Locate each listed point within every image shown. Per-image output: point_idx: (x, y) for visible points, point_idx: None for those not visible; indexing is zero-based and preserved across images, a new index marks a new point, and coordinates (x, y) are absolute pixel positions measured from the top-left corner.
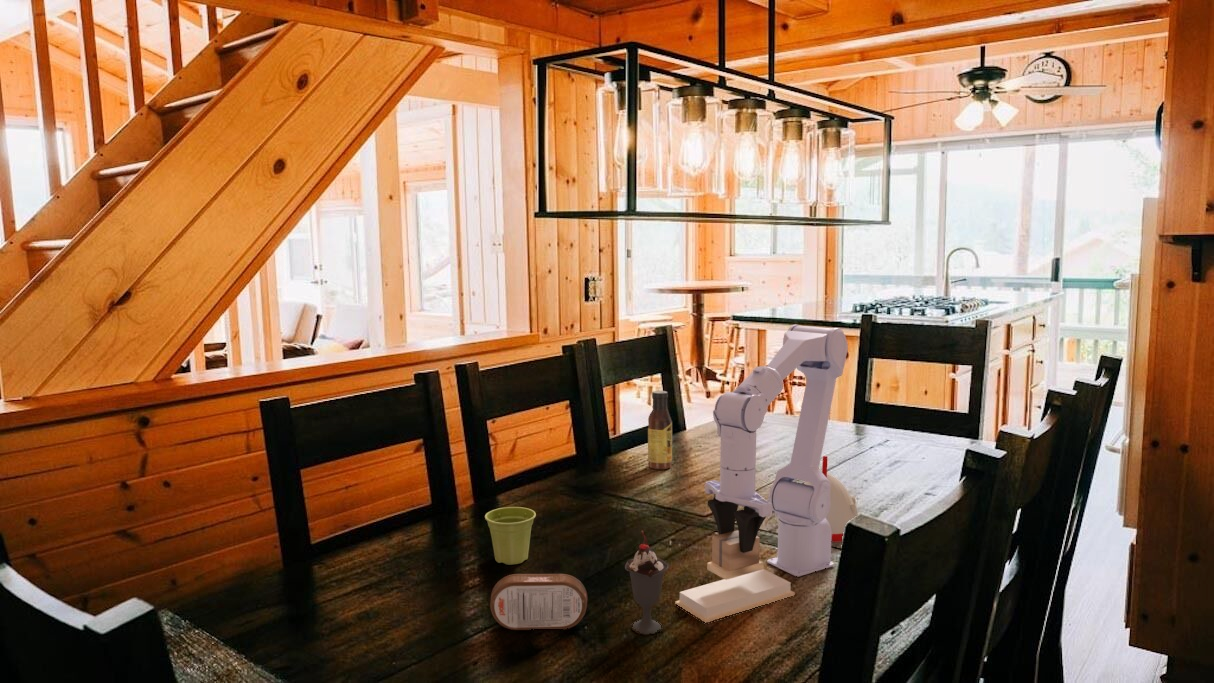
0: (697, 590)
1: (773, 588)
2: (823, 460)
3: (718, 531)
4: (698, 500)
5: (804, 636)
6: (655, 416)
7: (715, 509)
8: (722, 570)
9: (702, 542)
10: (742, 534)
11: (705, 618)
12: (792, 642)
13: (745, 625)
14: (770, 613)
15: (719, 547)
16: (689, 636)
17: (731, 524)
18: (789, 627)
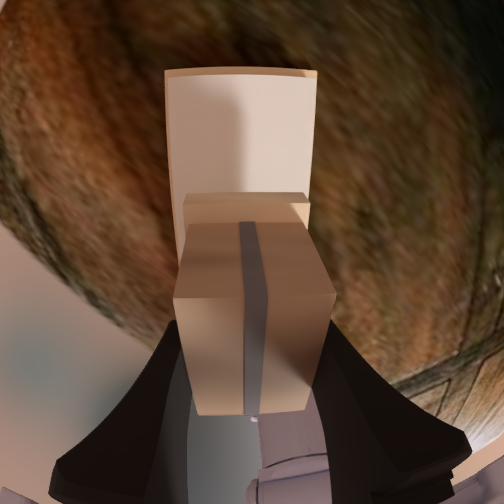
0: (291, 132)
1: None
2: None
3: (349, 344)
4: (500, 369)
5: (38, 241)
6: None
7: (392, 448)
8: (208, 205)
9: (460, 322)
10: (136, 388)
11: (175, 76)
12: (24, 206)
13: (113, 161)
14: (141, 249)
15: (262, 269)
16: (137, 3)
17: (323, 408)
18: (73, 241)
